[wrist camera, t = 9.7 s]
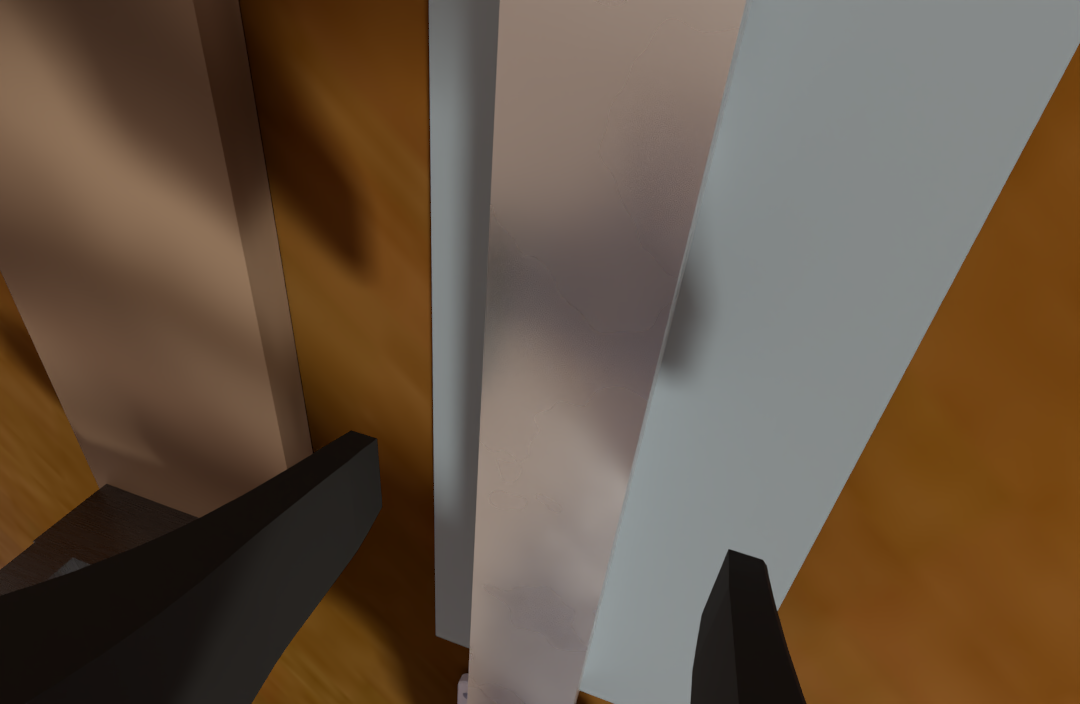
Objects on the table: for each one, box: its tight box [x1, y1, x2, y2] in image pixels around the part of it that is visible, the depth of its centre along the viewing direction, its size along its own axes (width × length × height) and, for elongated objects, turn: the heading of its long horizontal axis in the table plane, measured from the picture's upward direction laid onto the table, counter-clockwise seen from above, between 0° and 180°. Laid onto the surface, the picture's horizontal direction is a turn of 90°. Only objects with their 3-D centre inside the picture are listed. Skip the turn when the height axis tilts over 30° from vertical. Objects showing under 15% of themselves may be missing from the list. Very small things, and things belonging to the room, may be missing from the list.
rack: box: [0, 0, 313, 596], centre depth 15 cm, size 22×9×7 cm, turn 175°
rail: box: [467, 0, 752, 704], centre depth 14 cm, size 22×3×3 cm, turn 175°
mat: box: [429, 0, 1080, 704], centre depth 15 cm, size 24×10×1 cm, turn 175°
